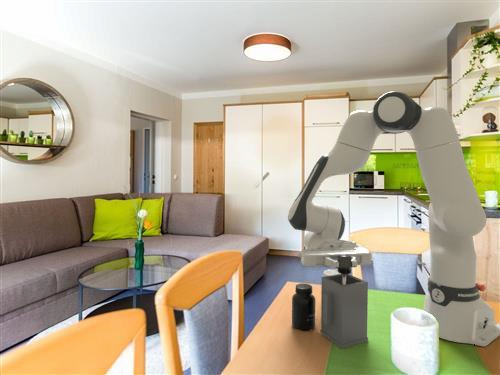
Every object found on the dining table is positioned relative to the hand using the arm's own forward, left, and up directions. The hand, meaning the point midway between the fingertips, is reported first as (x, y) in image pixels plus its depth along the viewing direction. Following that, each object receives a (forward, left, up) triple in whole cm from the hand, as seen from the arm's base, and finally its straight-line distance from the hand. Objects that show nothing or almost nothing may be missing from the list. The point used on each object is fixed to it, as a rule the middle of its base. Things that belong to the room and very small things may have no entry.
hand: (345, 264), depth 88 cm
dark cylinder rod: (0, -1, -15) cm, 15 cm away
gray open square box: (0, -1, -20) cm, 20 cm away
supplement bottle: (+6, -11, -21) cm, 24 cm away
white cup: (-14, -22, -21) cm, 33 cm away
